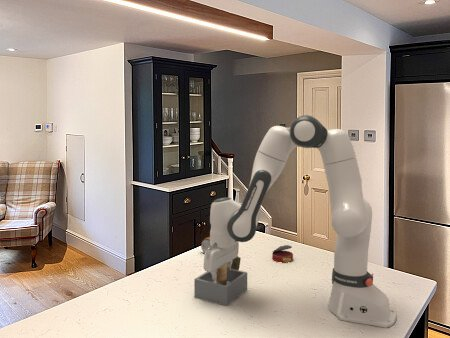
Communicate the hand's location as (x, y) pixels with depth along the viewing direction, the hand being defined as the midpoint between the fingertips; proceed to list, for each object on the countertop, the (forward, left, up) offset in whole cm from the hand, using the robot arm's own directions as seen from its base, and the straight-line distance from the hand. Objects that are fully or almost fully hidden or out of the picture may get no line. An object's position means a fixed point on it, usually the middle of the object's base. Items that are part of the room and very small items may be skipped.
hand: (221, 275), depth 149 cm
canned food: (-6, -47, -8) cm, 48 cm away
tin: (+25, -35, -7) cm, 44 cm away
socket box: (0, 0, -7) cm, 7 cm away
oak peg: (0, 0, -7) cm, 7 cm away
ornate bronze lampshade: (+5, -17, -7) cm, 19 cm away
